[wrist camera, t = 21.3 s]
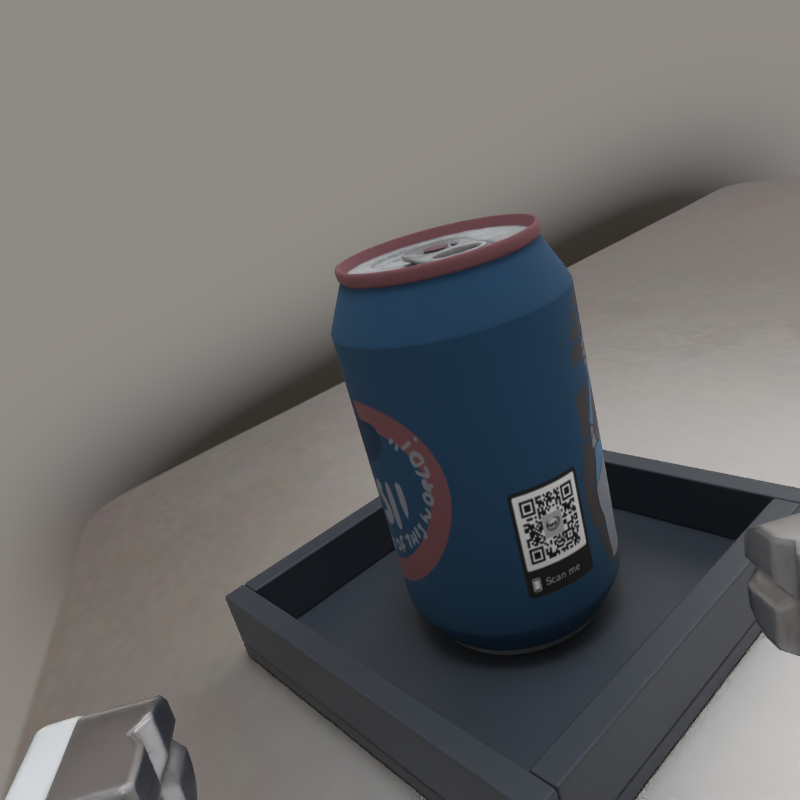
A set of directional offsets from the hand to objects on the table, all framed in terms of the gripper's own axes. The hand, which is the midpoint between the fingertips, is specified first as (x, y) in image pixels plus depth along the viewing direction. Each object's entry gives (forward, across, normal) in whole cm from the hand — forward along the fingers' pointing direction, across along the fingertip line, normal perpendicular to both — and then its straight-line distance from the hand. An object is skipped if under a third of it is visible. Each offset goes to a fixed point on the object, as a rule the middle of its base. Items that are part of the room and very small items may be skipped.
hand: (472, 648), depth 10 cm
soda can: (+12, -3, +8) cm, 15 cm away
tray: (+12, -3, +8) cm, 15 cm away
